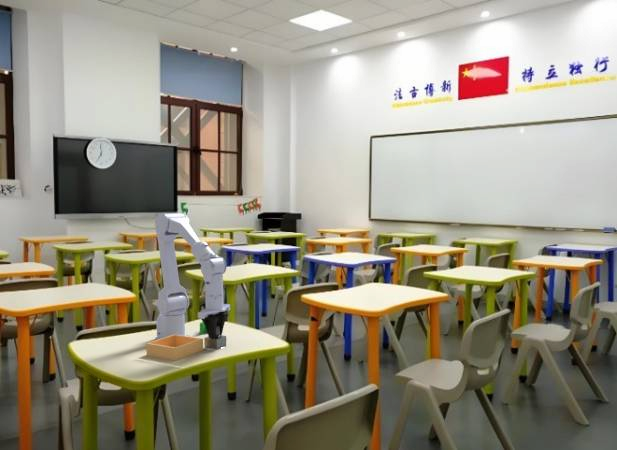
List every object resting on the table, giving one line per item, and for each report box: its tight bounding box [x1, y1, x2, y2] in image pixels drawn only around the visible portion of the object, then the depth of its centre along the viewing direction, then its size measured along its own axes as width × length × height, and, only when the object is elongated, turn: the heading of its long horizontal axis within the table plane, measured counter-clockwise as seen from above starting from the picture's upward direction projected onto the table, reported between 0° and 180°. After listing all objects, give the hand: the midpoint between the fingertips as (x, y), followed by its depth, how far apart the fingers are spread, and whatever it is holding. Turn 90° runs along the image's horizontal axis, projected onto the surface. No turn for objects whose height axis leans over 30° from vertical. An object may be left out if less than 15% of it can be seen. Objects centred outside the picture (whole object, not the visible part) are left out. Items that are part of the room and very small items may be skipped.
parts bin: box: [145, 334, 204, 361], centre depth 159 cm, size 12×12×4 cm
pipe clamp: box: [199, 320, 207, 335], centre depth 187 cm, size 11×4×5 cm, turn 173°
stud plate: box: [204, 345, 227, 351], centre depth 164 cm, size 7×7×2 cm
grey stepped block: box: [203, 325, 227, 351], centre depth 164 cm, size 5×5×7 cm
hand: (215, 336), depth 164 cm, fingers closed on grey stepped block, 3 cm apart
